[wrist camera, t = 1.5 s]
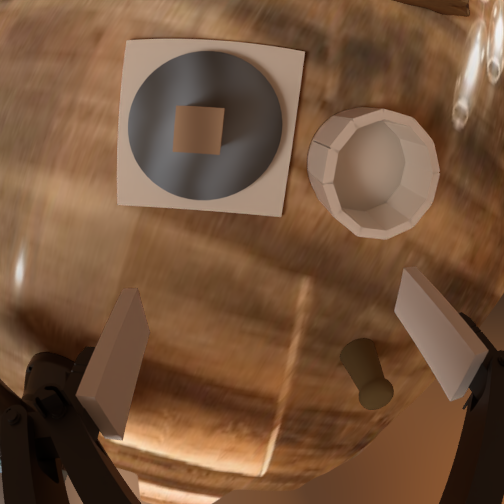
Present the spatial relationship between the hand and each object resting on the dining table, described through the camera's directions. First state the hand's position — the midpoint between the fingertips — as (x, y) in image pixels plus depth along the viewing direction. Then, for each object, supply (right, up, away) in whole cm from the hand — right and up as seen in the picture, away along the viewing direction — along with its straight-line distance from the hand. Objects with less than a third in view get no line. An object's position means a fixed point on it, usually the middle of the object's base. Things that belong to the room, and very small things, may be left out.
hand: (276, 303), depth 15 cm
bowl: (+11, +13, +20) cm, 26 cm away
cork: (+16, -14, +33) cm, 39 cm away
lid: (-6, +16, +16) cm, 23 cm away
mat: (-6, +16, +17) cm, 24 cm away
